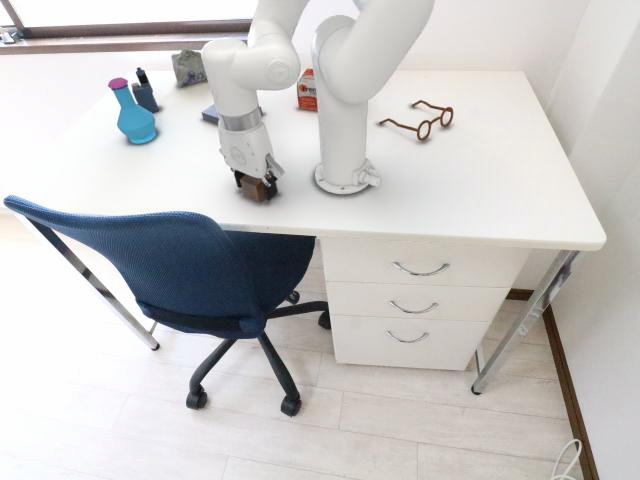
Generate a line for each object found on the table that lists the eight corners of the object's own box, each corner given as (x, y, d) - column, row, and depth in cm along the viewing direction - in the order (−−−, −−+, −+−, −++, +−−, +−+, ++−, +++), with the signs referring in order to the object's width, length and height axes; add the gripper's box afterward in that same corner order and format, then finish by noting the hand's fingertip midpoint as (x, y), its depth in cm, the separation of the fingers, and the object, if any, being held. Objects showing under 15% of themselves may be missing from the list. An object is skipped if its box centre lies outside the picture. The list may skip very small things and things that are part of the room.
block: (273, 190, 81) (269, 174, 78) (259, 202, 79) (255, 186, 75) (257, 184, 83) (253, 167, 79) (244, 195, 80) (239, 179, 77)
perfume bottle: (150, 147, 95) (123, 91, 84) (118, 145, 97) (88, 89, 86) (166, 127, 101) (144, 72, 90) (136, 125, 103) (110, 71, 91)
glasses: (418, 145, 89) (421, 126, 85) (378, 124, 96) (379, 106, 92) (452, 124, 94) (457, 105, 90) (413, 105, 101) (415, 87, 97)
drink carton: (298, 109, 103) (295, 81, 97) (308, 95, 108) (305, 67, 102) (351, 115, 100) (351, 86, 94) (358, 100, 105) (359, 72, 99)
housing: (263, 114, 103) (261, 101, 100) (239, 132, 97) (236, 118, 94) (228, 103, 108) (224, 90, 105) (203, 119, 103) (199, 106, 100)
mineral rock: (223, 74, 121) (215, 41, 114) (211, 90, 114) (202, 56, 107) (187, 73, 123) (176, 41, 116) (173, 88, 116) (161, 55, 109)
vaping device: (160, 110, 107) (143, 69, 99) (142, 115, 106) (123, 73, 97) (160, 106, 109) (143, 65, 100) (141, 111, 108) (122, 69, 99)
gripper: (191, 113, 68) (216, 187, 82) (263, 139, 61) (278, 215, 75) (219, 95, 72) (239, 168, 86) (290, 118, 65) (300, 194, 79)
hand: (257, 190), depth 80 cm, fingers open, 7 cm apart
